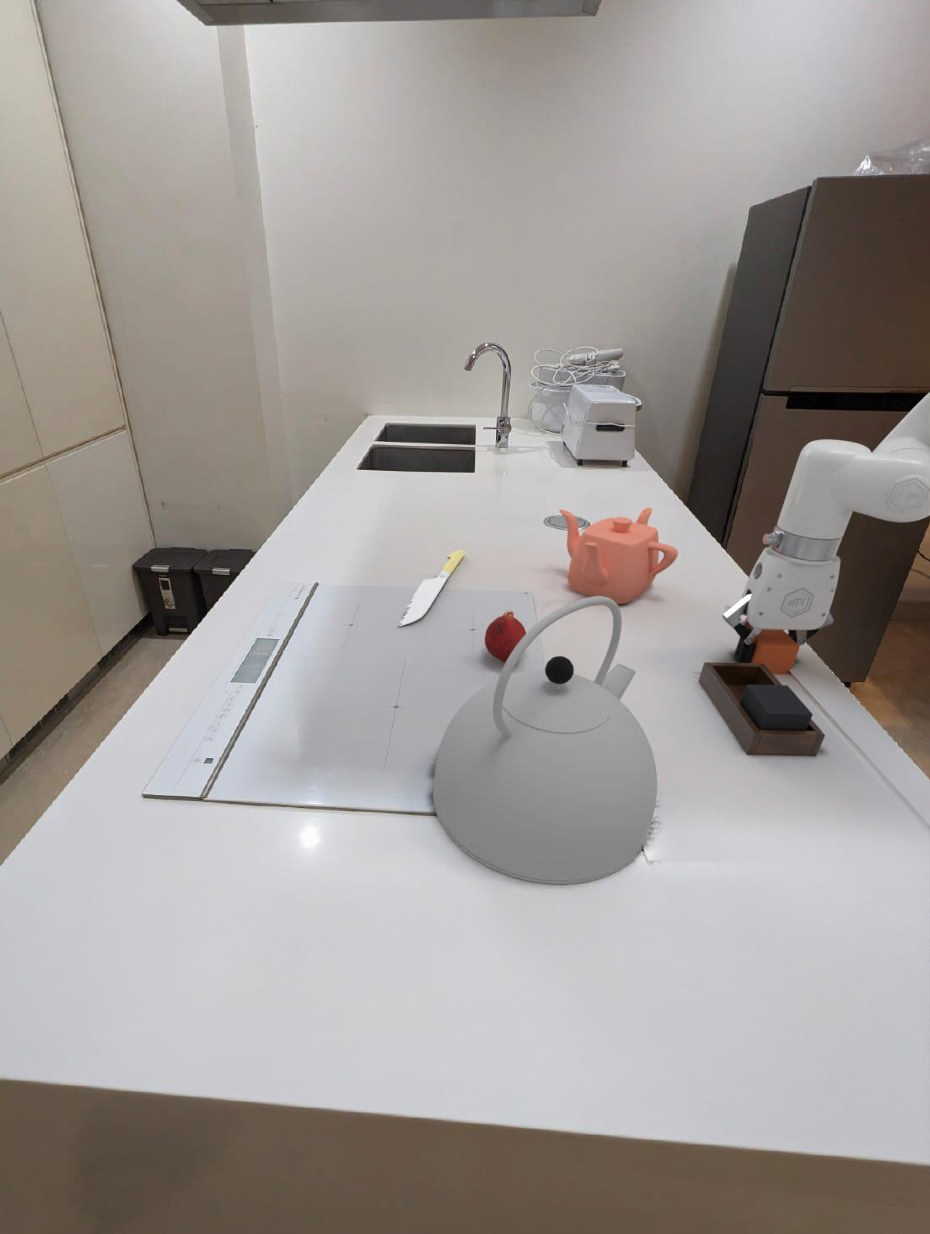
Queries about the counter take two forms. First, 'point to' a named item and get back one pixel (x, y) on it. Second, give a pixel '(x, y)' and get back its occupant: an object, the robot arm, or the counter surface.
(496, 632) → the red pomegranate
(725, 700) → the brown wooden tray
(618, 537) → the pot
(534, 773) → the kettle
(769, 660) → the orange block
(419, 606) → the knife
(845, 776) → the counter surface
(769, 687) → the pad charcoal
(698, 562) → the counter surface
